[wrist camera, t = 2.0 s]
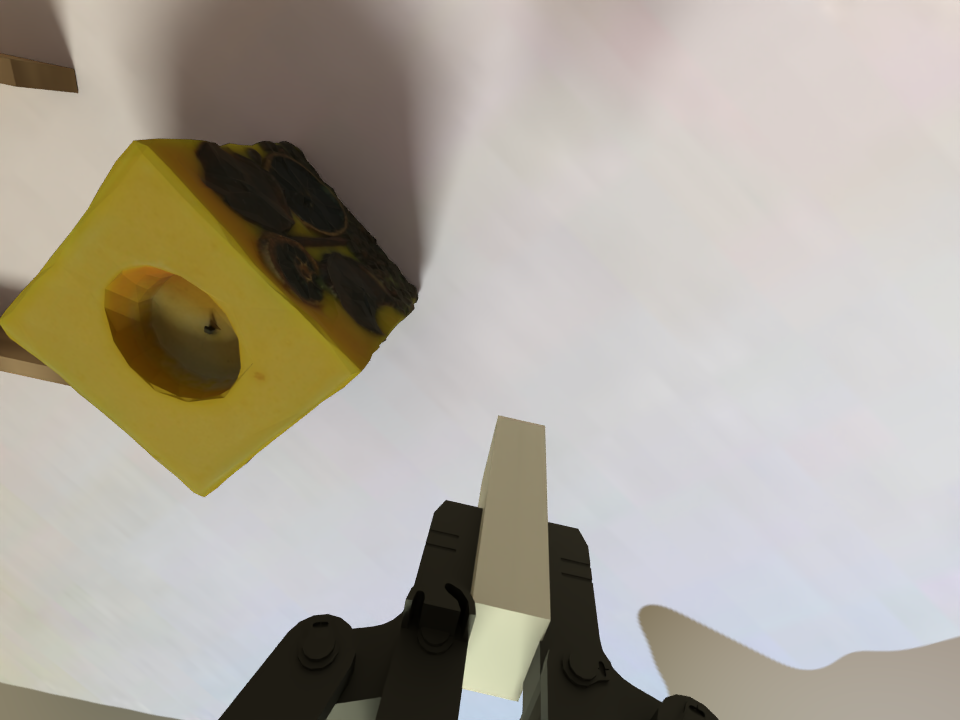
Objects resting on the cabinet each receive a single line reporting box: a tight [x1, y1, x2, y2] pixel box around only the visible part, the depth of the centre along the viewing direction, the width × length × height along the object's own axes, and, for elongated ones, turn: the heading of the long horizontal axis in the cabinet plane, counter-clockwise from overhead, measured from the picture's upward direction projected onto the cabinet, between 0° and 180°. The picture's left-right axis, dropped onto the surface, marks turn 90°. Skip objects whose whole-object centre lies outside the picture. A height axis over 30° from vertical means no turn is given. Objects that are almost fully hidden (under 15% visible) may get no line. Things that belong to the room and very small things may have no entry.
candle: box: [0, 139, 418, 497], centre depth 21 cm, size 10×10×10 cm
